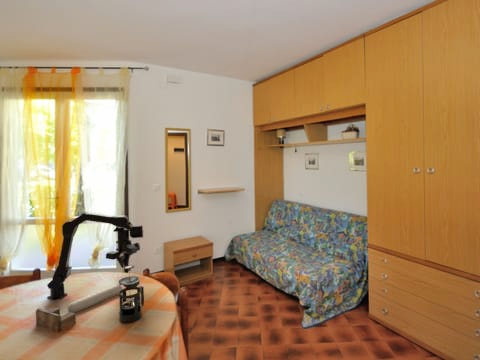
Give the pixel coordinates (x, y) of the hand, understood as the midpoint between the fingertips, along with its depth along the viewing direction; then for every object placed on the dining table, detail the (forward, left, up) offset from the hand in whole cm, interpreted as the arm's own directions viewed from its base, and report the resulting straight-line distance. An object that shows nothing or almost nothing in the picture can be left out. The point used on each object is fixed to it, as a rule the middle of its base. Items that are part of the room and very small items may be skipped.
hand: (124, 266), depth 146 cm
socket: (0, -37, -12) cm, 39 cm away
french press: (+26, -20, -12) cm, 35 cm away
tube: (-1, -17, -12) cm, 21 cm away
